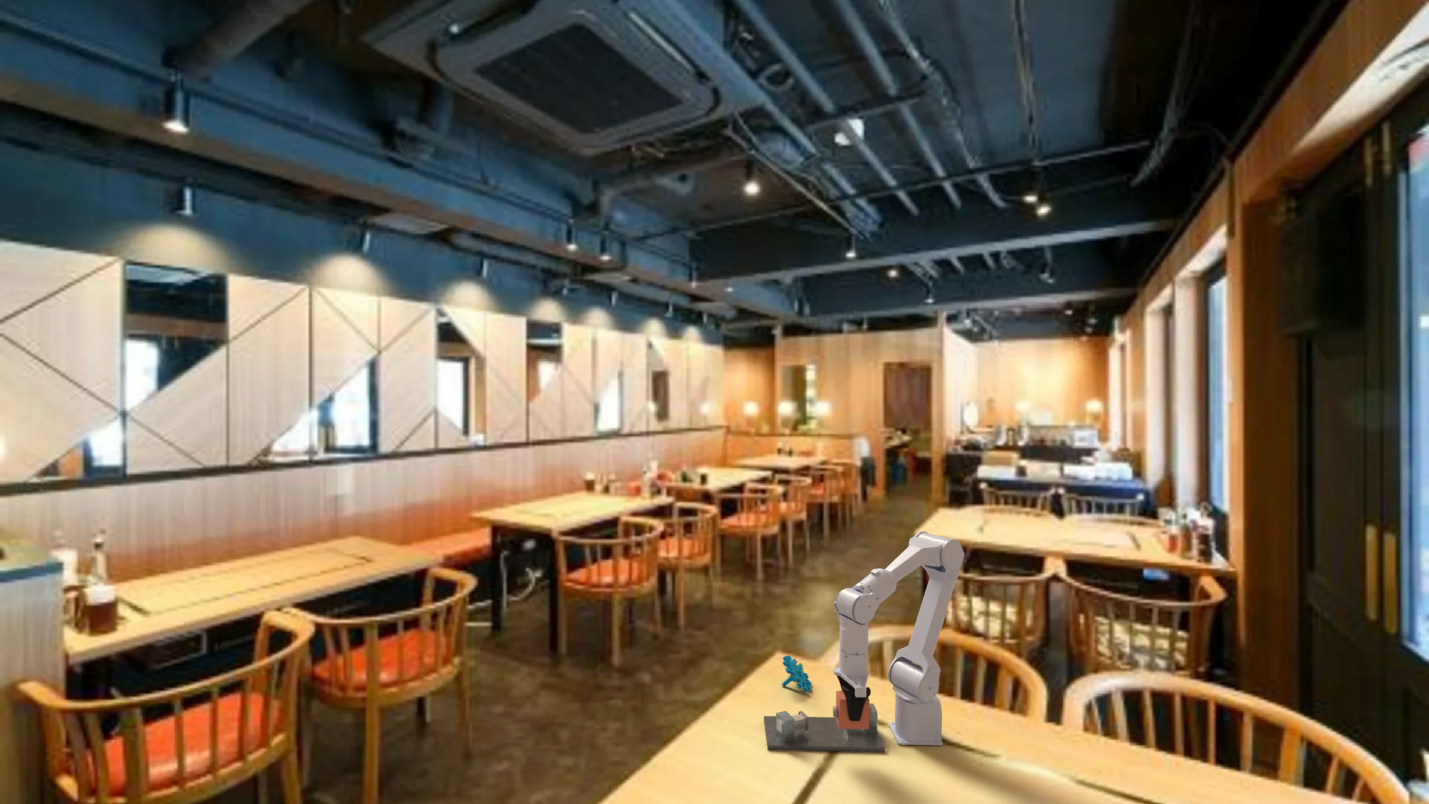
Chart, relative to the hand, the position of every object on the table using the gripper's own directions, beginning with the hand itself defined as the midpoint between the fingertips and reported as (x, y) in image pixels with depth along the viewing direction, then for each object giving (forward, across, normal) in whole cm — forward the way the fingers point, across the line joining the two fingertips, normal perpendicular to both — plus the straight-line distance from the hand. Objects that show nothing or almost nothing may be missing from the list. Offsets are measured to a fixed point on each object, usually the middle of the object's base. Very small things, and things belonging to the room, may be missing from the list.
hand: (852, 714), depth 128 cm
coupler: (+2, 0, 0) cm, 2 cm away
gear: (+9, -30, -7) cm, 32 cm away
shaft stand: (+9, -8, -5) cm, 13 cm away
